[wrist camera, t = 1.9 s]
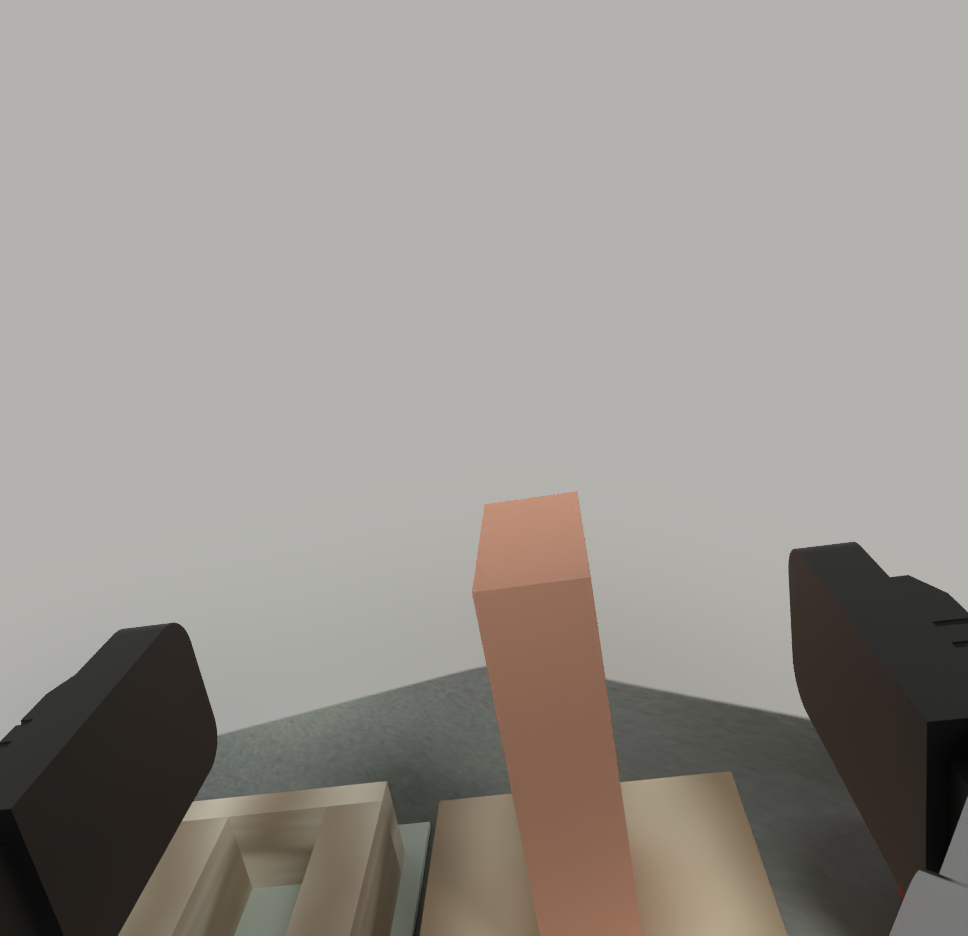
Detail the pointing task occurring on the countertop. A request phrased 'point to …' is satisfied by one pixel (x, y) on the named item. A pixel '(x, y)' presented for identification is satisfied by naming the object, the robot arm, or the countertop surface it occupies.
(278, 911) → the mat
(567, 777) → the tall salmon pillar
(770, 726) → the countertop surface
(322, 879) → the beige open box
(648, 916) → the wooden square slab
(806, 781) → the countertop surface
